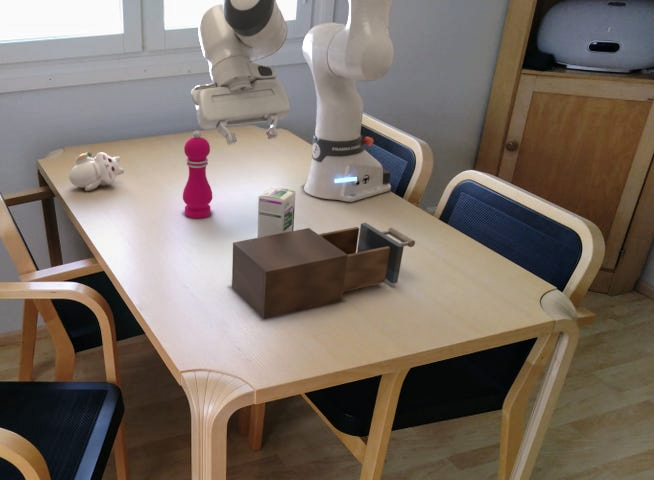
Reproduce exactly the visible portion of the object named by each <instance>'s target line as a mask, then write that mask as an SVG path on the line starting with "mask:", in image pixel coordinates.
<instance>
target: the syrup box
mask: <svg viewBox="0 0 654 480" xmlns="http://www.w3.org/2000/svg"><path fill="white" fill-rule="evenodd" d="M257 204H258V206H257V238H259V237H264V236H270V235H275V234H280V233H285V232H291V231H294V224H295V212H296V211H295V208H296V191H295V190H291V189H288V188H284V187H272V186H271V187H270V188H269V189H267V190H266V191H264V192H263V193H261V194H260V195H258V203H257Z"/></svg>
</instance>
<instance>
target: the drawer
mask: <svg viewBox="0 0 654 480" xmlns="http://www.w3.org/2000/svg"><path fill="white" fill-rule="evenodd" d="M317 234H318V235H320V236H321V237H323V238H324V239H326V240H327V241H328V242H330V243H331V244H333V245H334V246H336V247H337V248H338V249H340V250H341V251H343V252H344V253H346V254H347V255H348V256H347V264H346V272H345V279H344V287H343V293H344V292H348V291H352V290H357V289H361V288H366V287H370V286H375V285H379V284H384V283H386V280H387V281H388V282H389V283H390V284H397V283H398V281H399V276H400V271H401V265H402V260H403V259H402V258H403V253H404V248H405V247H407V246H408V247H409V248H413V247H414V246H415V244H416V240H414V239H412V238H410V237H409V236H407V235H405V234H403V233H402V232H400V231H399V230H397V229H395V228H394V227H389V228H388V229H387V230H384V231H380V230H379V229H377V228H375V227H374V226H372V225H370V224H369V223H367V222H362V223H360V228H359V227H358V226H354V227H348V228H344V229H338V230H334V231H329V232H323V233H317ZM388 235H389V236H388ZM390 236H391V237H390ZM392 237H393V238H394V239H393V238H392ZM395 239H396V240H395ZM398 241H399V242H398Z"/></svg>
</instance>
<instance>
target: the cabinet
mask: <svg viewBox="0 0 654 480" xmlns="http://www.w3.org/2000/svg"><path fill="white" fill-rule="evenodd" d="M318 234H319V233H317V232H315V231H314V230H313V229H312V228H311V227H307V228H302V229H296V230H293V231H291V232H285V233H280V234H275V235H270V236H264V237H259V238H258V237H254V238H249V239H243V240H239V241H234V242H232V267H231V268H232V269H231V288H232V290H234V292H236V293H237V294H238V296H240V297H241V298H242V299H243V300H244V301H245V302H246V303H247V305H249V306H250V307H251V308H252V309H253V310H254V311H255V312H256V313H257V315H259V316H260V317H261V318H262V320H266V319H270V318H275V317H279V316H282V315H287V314H292V313H297V312H302V311H306V310H309V309H314V308H319V307H324V306H327V305H331V304H335V303H341V302H343V294H344V292H343V287H344V279H345V272H346V264H347V256H348V255H347V254H346V253H344V252H343V251H341V250H340V249H338V248H337V247H336V246H334V245H333V244H331V243H330V242H328V241H327V240H326V239H324V238H323V237H321V236H320V235H318Z"/></svg>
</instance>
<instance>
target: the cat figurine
mask: <svg viewBox="0 0 654 480" xmlns="http://www.w3.org/2000/svg"><path fill="white" fill-rule="evenodd" d="M74 159H75V164H76V165H75V166H74V167H72V169H71V170H70V172H69V175H68V179H69V182H70V183H71V184H72V185H73V187H74V186H75V187H77V188H80V189H84V190H85V191H86V192H90V191H93V190H94V189H96V188H98V186H103V187H104V186H107V185H109V184H112V183H113V182H114V181H115V180H116V178H117V177H118V176H119V175H123V174H124V173H125V170H124V169H123V167H120V165H119V163H120V160H121V158H120V156H118V155H117V156H114V157H112V156H110V155H108V154H107V153H106V152H97V153H96V155H95V157H93V153H92V152H89V151H88V152H85V153H81V154H80V155H78V156H77V157H75V158H74Z"/></svg>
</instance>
